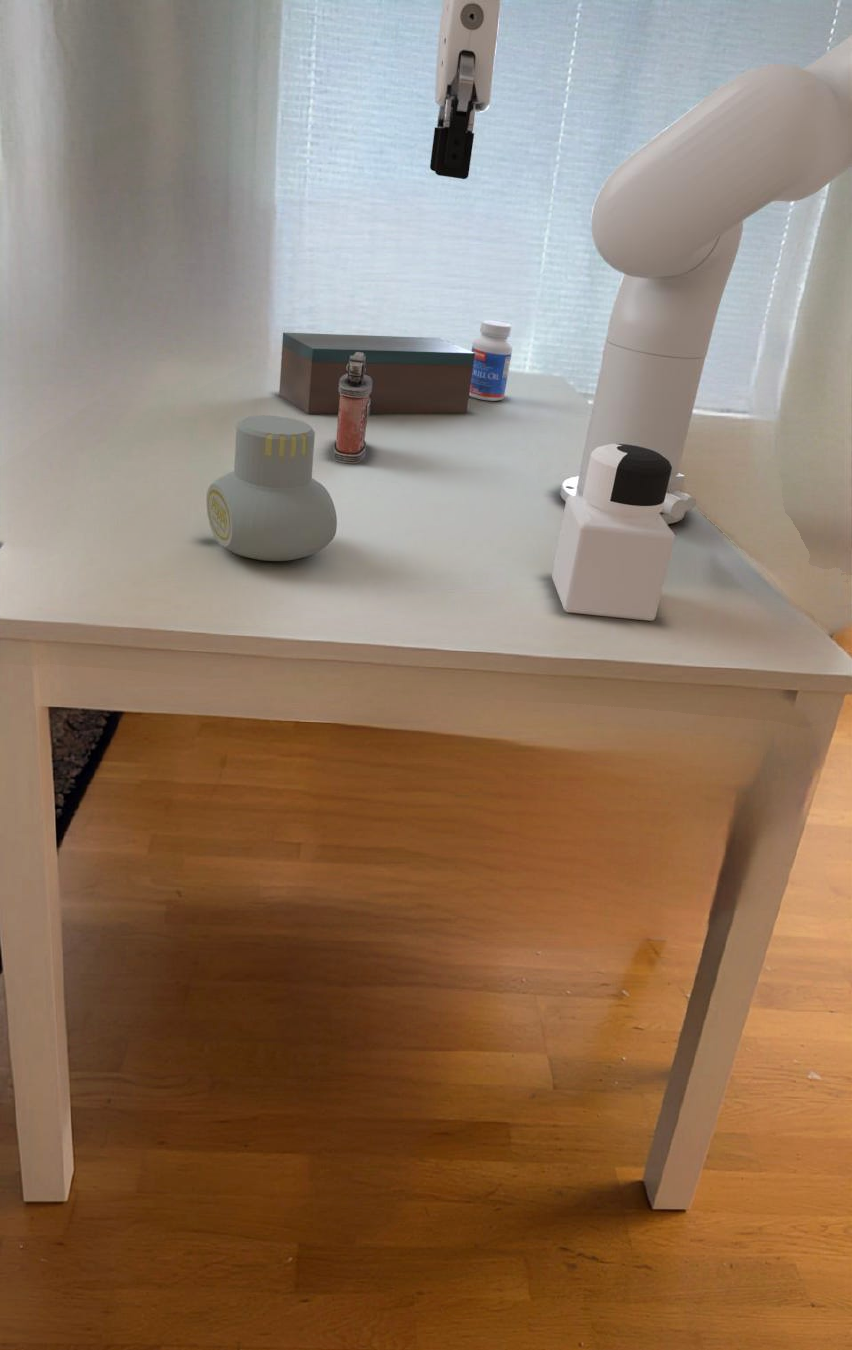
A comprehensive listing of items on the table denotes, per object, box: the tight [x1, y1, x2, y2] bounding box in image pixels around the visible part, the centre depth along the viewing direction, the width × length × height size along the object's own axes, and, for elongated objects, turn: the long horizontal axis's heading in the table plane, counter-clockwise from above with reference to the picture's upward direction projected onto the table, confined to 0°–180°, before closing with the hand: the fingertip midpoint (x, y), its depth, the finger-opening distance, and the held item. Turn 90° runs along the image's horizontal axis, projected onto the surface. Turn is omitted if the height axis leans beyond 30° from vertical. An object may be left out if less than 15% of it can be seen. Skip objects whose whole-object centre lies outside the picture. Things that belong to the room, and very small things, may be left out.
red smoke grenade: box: [332, 352, 372, 464], centre depth 110 cm, size 8×3×10 cm, turn 179°
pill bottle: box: [469, 319, 513, 402], centre depth 144 cm, size 6×5×10 cm
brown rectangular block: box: [278, 332, 475, 415], centre depth 132 cm, size 9×22×8 cm, turn 119°
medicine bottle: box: [551, 444, 676, 622], centre depth 81 cm, size 7×7×12 cm
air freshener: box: [206, 415, 338, 562], centre depth 82 cm, size 11×8×10 cm
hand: (447, 174), depth 106 cm, fingers open, 9 cm apart
